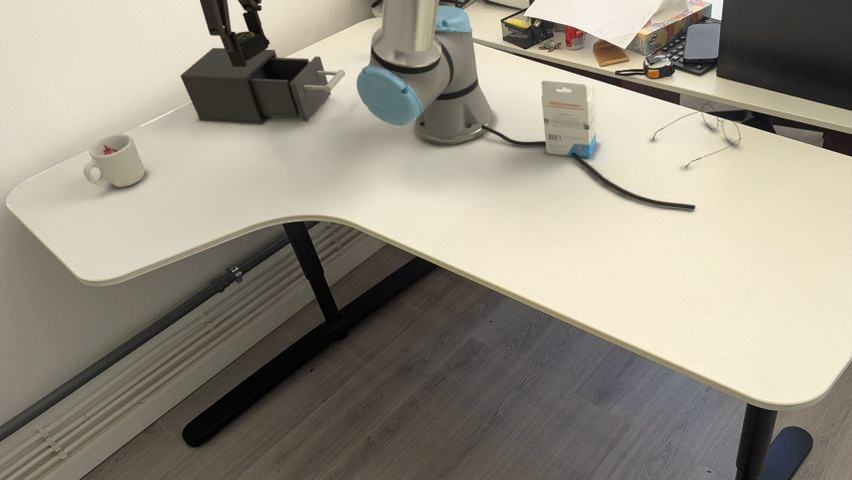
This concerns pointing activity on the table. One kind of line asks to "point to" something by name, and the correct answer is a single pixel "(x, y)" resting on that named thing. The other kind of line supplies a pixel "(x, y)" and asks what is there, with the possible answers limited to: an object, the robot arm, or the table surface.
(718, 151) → the eyeglasses
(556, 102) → the ink box
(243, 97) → the cabinet
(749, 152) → the table surface
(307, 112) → the drawer
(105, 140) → the cup
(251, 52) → the tape measure
